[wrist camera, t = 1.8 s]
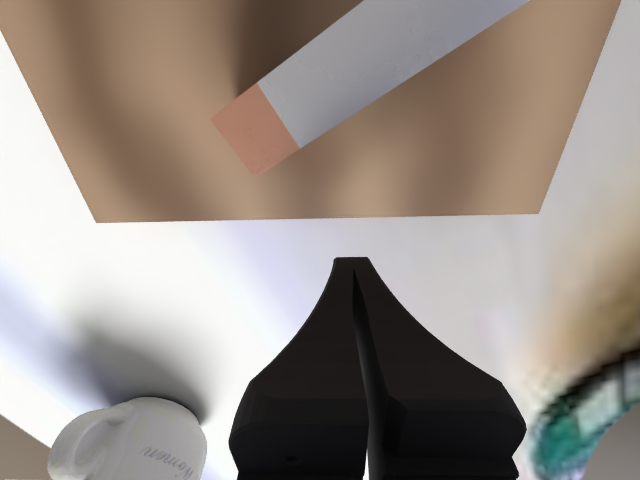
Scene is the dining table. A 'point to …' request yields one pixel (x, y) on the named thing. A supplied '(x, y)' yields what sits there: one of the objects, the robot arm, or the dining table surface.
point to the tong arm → (348, 72)
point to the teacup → (131, 444)
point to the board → (323, 152)
